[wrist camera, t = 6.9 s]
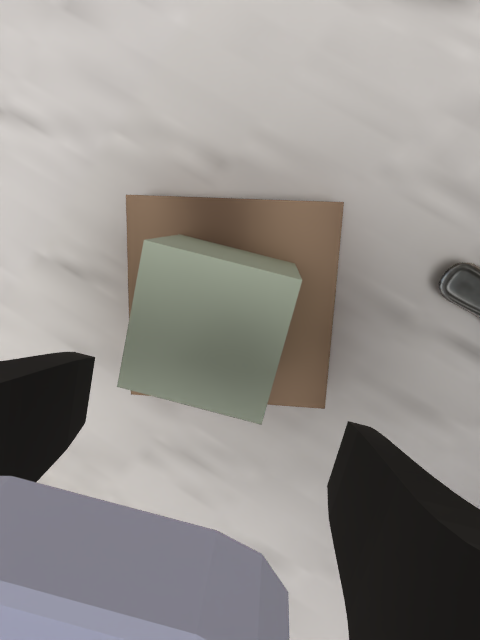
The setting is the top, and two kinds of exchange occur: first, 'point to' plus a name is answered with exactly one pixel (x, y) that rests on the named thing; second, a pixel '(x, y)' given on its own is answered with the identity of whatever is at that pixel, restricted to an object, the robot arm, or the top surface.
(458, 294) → the salad plate
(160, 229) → the walnut block
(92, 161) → the top surface
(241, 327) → the sage cube
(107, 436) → the top surface
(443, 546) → the robot arm
